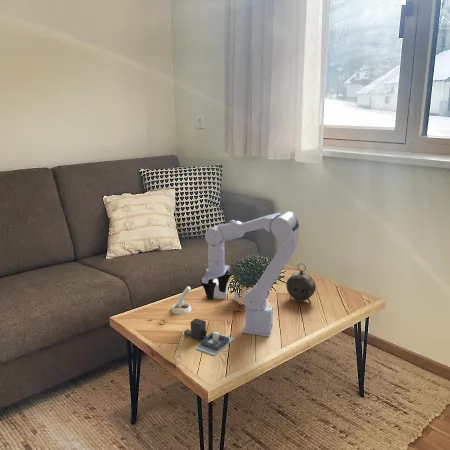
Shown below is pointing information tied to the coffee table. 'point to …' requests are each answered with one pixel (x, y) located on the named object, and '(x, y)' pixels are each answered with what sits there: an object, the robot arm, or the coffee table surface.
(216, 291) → the white cube
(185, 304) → the hook
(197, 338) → the grey block with tab
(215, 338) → the keeper
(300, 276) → the alarm clock
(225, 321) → the coffee table surface
